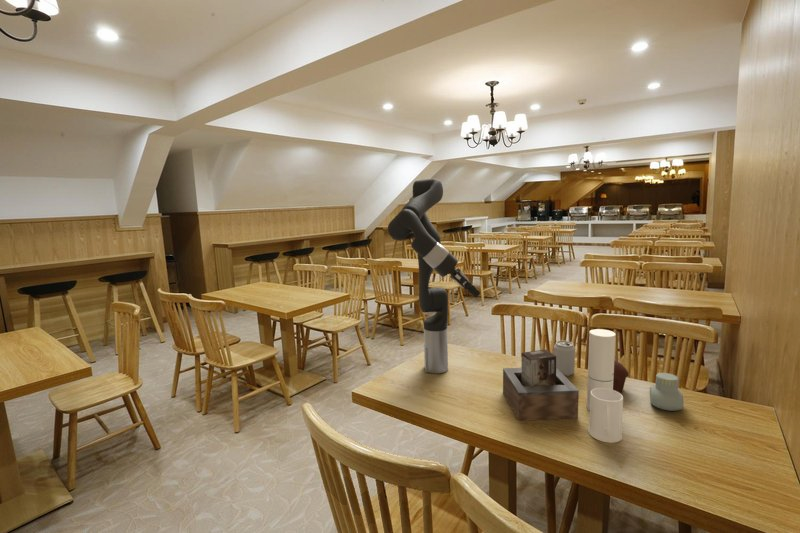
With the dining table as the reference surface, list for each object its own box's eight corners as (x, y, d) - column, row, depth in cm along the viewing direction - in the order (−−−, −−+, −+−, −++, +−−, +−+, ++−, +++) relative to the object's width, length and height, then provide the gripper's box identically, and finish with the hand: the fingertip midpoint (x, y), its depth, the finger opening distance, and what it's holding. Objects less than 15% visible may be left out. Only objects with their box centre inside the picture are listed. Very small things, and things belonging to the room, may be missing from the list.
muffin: (583, 384, 142) (584, 358, 141) (607, 378, 146) (608, 352, 144) (611, 399, 131) (612, 370, 130) (635, 392, 135) (637, 364, 133)
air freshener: (648, 396, 133) (650, 367, 131) (678, 401, 129) (681, 371, 127) (651, 411, 123) (653, 381, 122) (683, 417, 119) (686, 386, 118)
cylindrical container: (614, 407, 126) (618, 332, 122) (607, 417, 121) (611, 338, 117) (590, 400, 131) (593, 327, 127) (583, 409, 126) (586, 333, 122)
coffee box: (545, 394, 134) (546, 348, 132) (556, 403, 128) (557, 355, 125) (520, 398, 132) (520, 351, 130) (530, 407, 126) (531, 359, 124)
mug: (622, 453, 104) (624, 410, 102) (586, 444, 108) (588, 403, 106) (621, 429, 114) (623, 390, 112) (588, 423, 118) (590, 385, 116)
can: (577, 376, 149) (578, 346, 147) (557, 377, 149) (558, 346, 147) (569, 368, 156) (570, 339, 154) (550, 369, 156) (551, 339, 154)
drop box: (518, 420, 121) (518, 392, 119) (503, 392, 139) (503, 368, 137) (577, 418, 121) (578, 390, 119) (554, 390, 139) (555, 366, 137)
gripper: (451, 253, 122) (488, 288, 123) (445, 248, 136) (479, 280, 137) (434, 271, 122) (471, 306, 124) (430, 264, 136) (464, 295, 138)
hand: (475, 292), depth 131 cm, fingers open, 8 cm apart
